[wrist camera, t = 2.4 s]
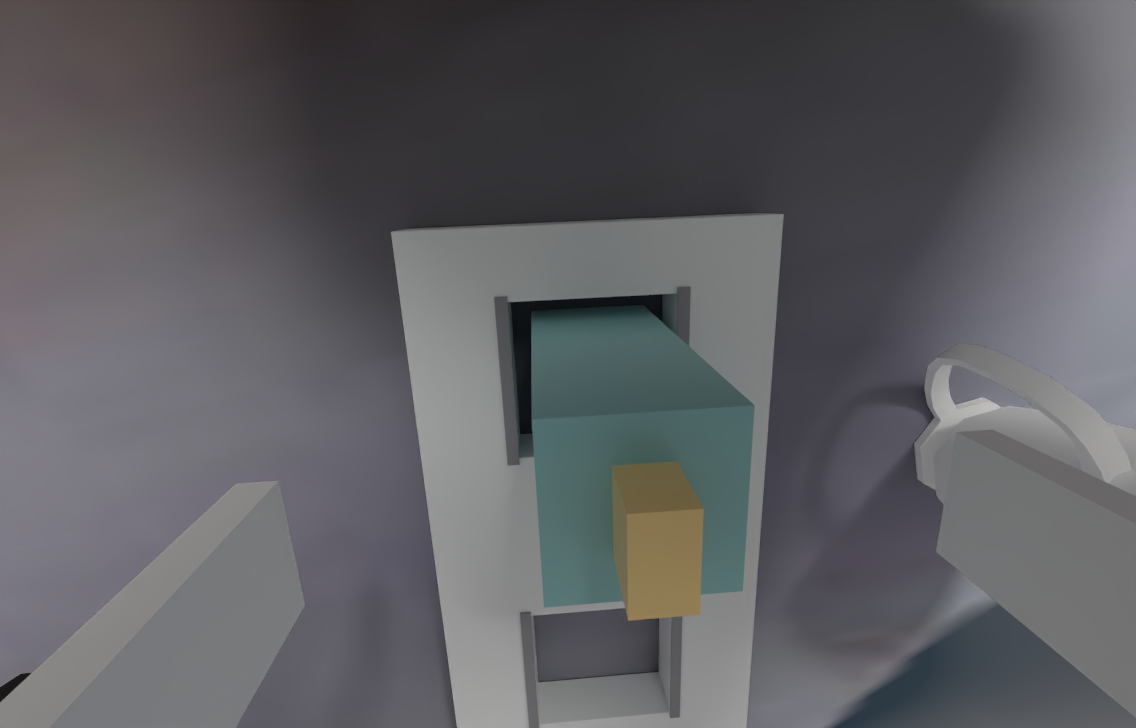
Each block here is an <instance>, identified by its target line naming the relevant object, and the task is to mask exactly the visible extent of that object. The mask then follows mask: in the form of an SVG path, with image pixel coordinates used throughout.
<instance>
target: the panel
mask: <svg viewBox="0 0 1136 728" xmlns="http://www.w3.org/2000/svg"><path fill="white" fill-rule="evenodd" d="M783 217H784V214H770V213H748V214H725V215H703V216H681V217H659V218H636V219H614V220H592V221H569V222H547V223H525V224H503V225H480V226H458V227H436V228H414V229H403V230H397V231H392V232H391V237H392V244H393V252H394V259H395V267H396V274H397V282H398V289H399V297H400V304H401V312H402V319H403V327H404V334H405V342H406V349H407V357H408V364H409V372H410V379H411V387H412V394H413V402H414V409H415V416H416V424H417V431H418V439H419V446H420V454H421V461H422V469H423V476H424V484H425V491H426V499H427V506H428V514H429V521H430V529H431V536H432V544H433V551H434V559H435V566H436V574H437V581H438V589H439V596H440V604H441V611H442V619H443V626H444V634H445V641H446V649H447V656H448V664H449V671H450V679H451V686H452V694H453V701H454V709H455V716H456V724H457V728H746V726H747V712H748V698H749V684H750V671H751V657H752V643H753V629H754V616H755V602H756V588H757V574H758V561H759V547H760V533H761V519H762V506H763V492H764V478H765V464H766V451H767V437H768V423H769V409H770V396H771V382H772V368H773V354H774V341H775V327H776V313H777V299H778V286H779V272H780V258H781V244H782V230H783ZM656 294H662V322H663V323H664V324H665V325H666V326H667V327H668V328H669V329H670V330H671V331H673V332H674V333H675V334H676V335H677V336H678V337H679V338H680V339H681V340H683V341H684V342H685V343H686V344H687V345H688V346H689V347H690V348H691V349H693V350H694V351H695V352H696V353H697V354H698V355H699V356H700V357H701V358H703V359H704V360H705V361H706V362H707V363H708V364H709V365H710V366H711V367H713V368H714V369H715V370H716V371H717V372H718V373H719V374H720V375H721V376H723V377H724V378H725V379H726V380H727V381H728V382H729V383H730V384H731V385H733V386H734V387H735V388H736V389H737V390H738V391H739V392H740V393H741V394H743V395H744V396H745V397H746V398H747V399H748V400H749V401H750V402H751V403H753V404H754V405H755V409H754V424H753V440H752V456H751V471H750V487H749V502H748V518H747V533H746V549H745V564H744V580H743V591H739V592H727V593H715V594H703V595H701V597H700V615H691V616H679V617H667V618H659V672H651V673H640V674H628V675H617V676H606V677H595V678H583V679H572V680H561V681H549V682H538V669H537V656H536V642H535V628H534V616H536V615H548V614H560V613H572V612H584V611H597V610H609V609H621V608H625V606H624V601H618V602H606V603H594V604H581V605H569V606H557V607H545V608H544V600H543V585H542V570H541V555H540V540H539V525H538V509H537V494H536V479H535V464H534V449H533V433H530V434H520V423H519V409H518V395H517V382H516V368H515V354H514V341H513V327H512V313H511V302H523V301H542V300H561V299H580V298H599V297H618V296H637V295H656Z"/></svg>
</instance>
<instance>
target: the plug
mask: <svg viewBox="0 0 1136 728" xmlns="http://www.w3.org/2000/svg"><path fill="white" fill-rule="evenodd" d="M531 393H532V433H533V449H534V464H535V479H536V494H537V509H538V525H539V540H540V555H541V570H542V585H543V600H544V608H545V607H557V606H569V605H581V604H594V603H606V602H618V601H624V606H625V610H626V614H627V618H628V621H632V620H644V619H655V618H667V617H679V616H691V615H700V597H701V595H703V594H715V593H727V592H739V591H743V580H744V564H745V549H746V533H747V518H748V502H749V487H750V471H751V456H752V440H753V424H754V409H755V405H754V404H753V403H751V402H750V401H749V400H748V399H747V398H746V397H745V396H744V395H743V394H741V393H740V392H739V391H738V390H737V389H736V388H735V387H734V386H733V385H731V384H730V383H729V382H728V381H727V380H726V379H725V378H724V377H723V376H721V375H720V374H719V373H718V372H717V371H716V370H715V369H714V368H713V367H711V366H710V365H709V364H708V363H707V362H706V361H705V360H704V359H703V358H701V357H700V356H699V355H698V354H697V353H696V352H695V351H694V350H693V349H691V348H690V347H689V346H688V345H687V344H686V343H685V342H684V341H683V340H681V339H680V338H679V337H678V336H677V335H676V334H675V333H674V332H673V331H671V330H670V329H669V328H668V327H667V326H666V325H665V324H664V323H663V322H661V321H660V320H659V319H658V318H657V317H656V316H655V315H654V314H652V313H651V312H650V311H649V310H648V309H647V308H646V307H645V306H644V305H630V306H611V307H593V308H574V309H555V310H537V311H531Z"/></svg>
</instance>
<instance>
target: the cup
mask: <svg viewBox="0 0 1136 728" xmlns="http://www.w3.org/2000/svg"><path fill="white" fill-rule="evenodd" d="M952 366H962V367H964V368H966V369H968V370H970V371H973V372H975V373H977V374H979V375H982V376H984V377H986V378H988V379H990V380H992V381H994V382H996V383H997V384H999V385H1001V386H1003V387H1005V388H1007V389H1008V390H1010V391H1012V392H1014V393H1016V394H1017V395H1019V396H1021V397H1023V398H1024V399H1025V400H1026V401H1028V402H1029V403H1030V404H1032V405H1033V406H1034V407H1035V408H1037V409H1038V410H1037V409H1030V408H1022V407H1015V406H1007V407H1003V408H1001V407H1000V406H998V405H997V404H995V403H993V402H992V401H990V400H988V399H985V398H983V397H981V398H978V399H974V400H971V401H967V402H963V403H960V404H956V405H955V404H954V402H953V400H952V399H951V397H950V390H949V383H948V381H949V376H950V372H951V368H952ZM924 390H925V396H926V401H927V405H928V407H929V409H930V410H931V412H932V414H933V415H934V418H933V420H932V421H931V422H930V424H929V425H928V426H927V427H926V429H925V430H924V431H923V433H922V434H921V435H920V436H919V438H918V439H917V440H916V442H915V443H914V448H915V459H916V470H917V479H918V480H919V481H921V482H922V483H923V484H925V485H927V486H929V487H931V488H932V489H934V490H936V496H937V497H938V498H939V500H940V501H941V502H942V504H943V505H944V501H945V495H946V490H947V484H948V478H949V472H950V466H951V460H952V454H953V449H954V443H955V437H956V432H965V431H979V430H995V431H997V432H999V433H1001V434H1004V435H1006V436H1008V437H1010V438H1012V439H1014V440H1016V441H1019V442H1021V443H1023V444H1025V445H1027V446H1029V447H1031V448H1034V449H1036V450H1038V451H1040V452H1042V453H1044V454H1047V455H1049V456H1051V457H1053V458H1055V459H1057V460H1059V461H1062V462H1064V463H1066V464H1068V465H1070V466H1072V467H1074V468H1077V469H1079V470H1081V471H1083V472H1085V473H1087V474H1090V475H1092V476H1094V477H1096V478H1098V479H1100V480H1102V481H1105V482H1107V483H1109V484H1111V485H1113V486H1115V487H1117V488H1120V489H1122V490H1124V491H1126V492H1128V493H1130V494H1132V495H1135V496H1136V430H1134V429H1130V428H1126V427H1122V426H1118V425H1114V424H1109V423H1106V422H1105V421H1104V420H1103V419H1102V418H1101V417H1100V415H1099V414H1098V413H1097V412H1096V411H1095V410H1094V409H1093V408H1092V407H1091V406H1089V405H1088V404H1087V403H1085V402H1084V401H1083V400H1081V399H1080V398H1079V397H1077V396H1076V395H1075V394H1073V393H1072V392H1071V391H1069V390H1068V389H1067V388H1065V387H1064V386H1062V385H1061V384H1060V383H1058V382H1057V381H1056V380H1054V379H1053V378H1052V377H1050V376H1048V375H1046V374H1044V373H1042V372H1040V371H1038V370H1036V369H1034V368H1032V367H1030V366H1028V365H1026V364H1024V363H1022V362H1020V361H1018V360H1016V359H1014V358H1012V357H1010V356H1007V355H1004V354H1002V353H999V352H996V351H994V350H991V349H988V348H986V347H983V346H980V345H974V344H956V345H954V346H953V347H951V348H950V349H949V350H947V351H946V352H944V353H943V354H941V355H940V356H939V357H937V358H936V359H935V360H934V361H933V362H932V363H930V364H929V365H928V368H927V373H926V378H925V386H924Z"/></svg>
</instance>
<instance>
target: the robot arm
mask: <svg viewBox="0 0 1136 728" xmlns="http://www.w3.org/2000/svg"><path fill="white" fill-rule="evenodd" d="M936 552H937V553H938V554H939V555H940V556H942V557H943V558H944V559H945V560H947V561H948V562H949V563H950V564H951V565H953V566H954V567H955V568H956V569H957V570H959V571H960V572H961V573H962V574H963V575H965V576H966V577H967V578H968V579H969V580H971V581H972V582H973V583H974V584H975V585H977V586H978V587H979V588H980V589H981V590H983V591H984V592H985V593H986V594H988V595H989V596H990V597H991V598H992V599H994V600H995V601H996V602H997V603H998V604H1000V605H1001V606H1002V607H1003V608H1005V609H1006V610H1007V611H1008V612H1009V613H1010V614H1012V615H1013V616H1014V617H1015V618H1016V619H1018V620H1019V621H1020V622H1021V623H1022V624H1024V625H1025V626H1026V627H1028V628H1029V629H1030V630H1031V631H1032V632H1033V633H1035V634H1036V635H1037V636H1038V637H1040V638H1041V639H1042V640H1043V641H1044V642H1045V643H1047V644H1048V645H1049V646H1050V647H1051V648H1053V649H1054V650H1055V651H1056V652H1058V653H1059V654H1060V655H1061V656H1062V657H1064V658H1065V659H1066V660H1067V661H1068V662H1070V663H1071V664H1072V665H1073V666H1075V667H1076V668H1077V669H1078V670H1079V671H1081V672H1082V673H1083V674H1084V675H1085V676H1086V677H1088V678H1089V679H1090V680H1091V681H1092V682H1094V683H1095V684H1096V685H1097V686H1098V687H1100V688H1101V689H1102V690H1103V691H1104V692H1106V693H1107V694H1108V695H1109V696H1111V697H1112V698H1113V699H1114V700H1115V701H1117V702H1118V703H1119V704H1120V705H1121V706H1123V707H1124V708H1125V709H1126V710H1128V711H1129V712H1130V713H1131V714H1132V715H1134V716H1135V717H1136V496H1135V495H1132V494H1130V493H1128V492H1126V491H1124V490H1122V489H1120V488H1117V487H1115V486H1113V485H1111V484H1109V483H1107V482H1105V481H1102V480H1100V479H1098V478H1096V477H1094V476H1092V475H1090V474H1087V473H1085V472H1083V471H1081V470H1079V469H1077V468H1074V467H1072V466H1070V465H1068V464H1066V463H1064V462H1062V461H1059V460H1057V459H1055V458H1053V457H1051V456H1049V455H1047V454H1044V453H1042V452H1040V451H1038V450H1036V449H1034V448H1031V447H1029V446H1027V445H1025V444H1023V443H1021V442H1019V441H1016V440H1014V439H1012V438H1010V437H1008V436H1006V435H1004V434H1001V433H999V432H997V431H995V430H979V431H965V432H956V437H955V443H954V449H953V454H952V460H951V466H950V472H949V478H948V484H947V490H946V495H945V501H944V507H943V513H942V519H941V525H940V531H939V536H938V542H937V548H936ZM304 607H305V602H304V598H303V593H302V588H301V583H300V579H299V574H298V569H297V565H296V560H295V555H294V551H293V546H292V541H291V537H290V532H289V527H288V522H287V518H286V513H285V508H284V504H283V499H282V494H281V490H280V485H279V481H266V482H252V483H238V484H235V485H234V486H233V487H232V488H231V489H229V490H228V491H227V492H226V493H225V494H224V495H223V496H222V497H221V498H220V499H219V500H218V501H217V502H215V503H214V504H213V505H212V506H211V507H210V508H209V509H208V510H207V511H206V512H205V513H204V514H203V515H201V516H200V517H199V518H198V519H197V520H196V521H195V522H194V523H193V524H192V525H191V526H190V527H189V528H187V529H186V530H185V531H184V532H183V533H182V534H181V535H180V536H179V537H178V538H177V539H176V540H175V541H173V542H172V543H171V544H170V545H169V546H168V547H167V548H166V549H165V550H164V551H163V552H162V553H161V554H159V555H158V556H157V557H156V558H155V559H154V560H153V561H152V562H151V563H150V564H149V565H148V566H147V567H145V568H144V569H143V570H142V571H141V572H140V573H139V574H138V575H137V576H136V577H135V578H134V579H133V580H131V581H130V582H129V583H128V584H127V585H126V586H125V587H124V588H123V589H122V590H121V591H120V592H119V593H117V594H116V595H115V596H114V597H113V598H112V599H111V600H110V601H109V602H108V603H107V604H106V605H105V606H103V607H102V608H101V609H100V610H99V611H98V612H97V613H96V614H95V615H94V616H93V617H92V618H91V619H89V620H88V621H87V622H86V623H85V624H84V625H83V626H82V627H81V628H80V629H79V630H78V631H77V632H75V633H74V634H73V635H72V636H71V637H70V638H69V639H68V640H67V641H66V642H65V643H64V644H63V645H61V646H60V647H59V648H58V649H57V650H56V651H55V652H54V653H53V654H52V655H51V656H50V657H49V658H47V659H46V660H45V661H44V662H43V663H42V664H41V665H40V666H39V667H38V668H37V669H36V670H35V671H33V672H32V673H26V674H20V675H19V676H17V677H15V678H14V679H12V680H11V681H9V682H8V683H6V684H5V685H3V686H2V687H0V728H236V727H237V725H238V723H239V721H240V720H241V718H242V716H243V714H244V713H245V711H246V709H247V707H248V705H249V704H250V702H251V700H252V698H253V697H254V695H255V693H256V691H257V690H258V688H259V686H260V684H261V683H262V681H263V679H264V677H265V675H266V674H267V672H268V670H269V668H270V667H271V665H272V663H273V661H274V660H275V658H276V656H277V654H278V652H279V651H280V649H281V647H282V645H283V644H284V642H285V640H286V638H287V637H288V635H289V633H290V631H291V630H292V628H293V626H294V624H295V622H296V621H297V619H298V617H299V615H300V614H301V612H302V610H303V608H304Z"/></svg>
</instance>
